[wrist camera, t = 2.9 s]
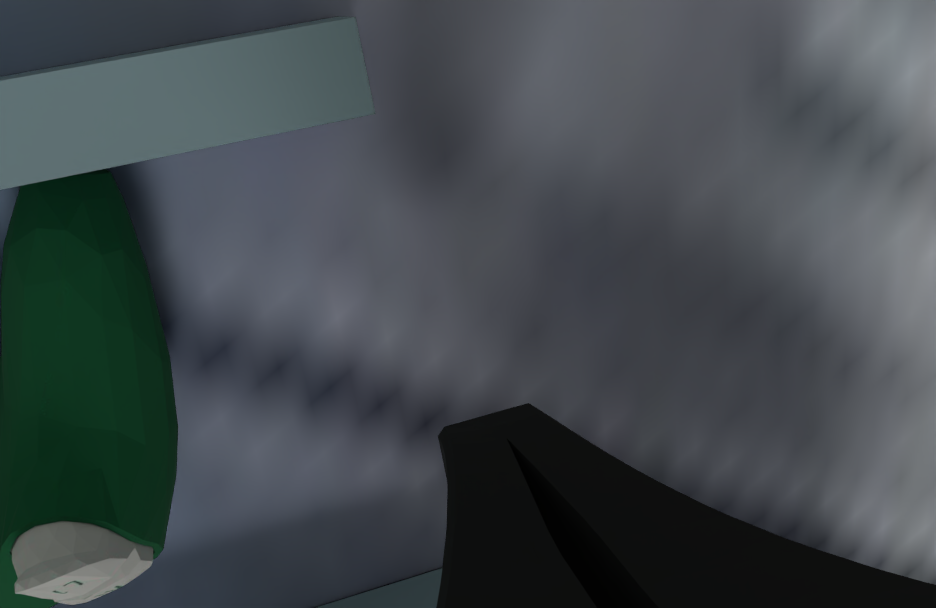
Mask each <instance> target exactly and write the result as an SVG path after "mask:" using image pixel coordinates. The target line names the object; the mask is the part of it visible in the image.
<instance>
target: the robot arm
mask: <svg viewBox="0 0 936 608" xmlns="http://www.w3.org/2000/svg"><path fill="white" fill-rule="evenodd" d="M438 439H439V443H440V448H441V453H442V458H443V463H444V467H445V472H446V477H447V484H448V499H447V530H446V541H445V549H444V558H443V567H442V575H441V583H440V589H439V595H438V601H437V607H436V608H936V585H934V584H930V583H925V582H922V581H918V580H915V579H911V578H908V577H904V576H901V575H897V574H893V573H890V572H886V571H883V570H879V569H876V568H873V567H869V566H866V565H863V564H860V563H857V562H854V561H851V560H848V559H845V558H842V557H839V556H835V555H832V554H829V553H826V552H823V551H820V550H817V549H814V548H811V547H808V546H805V545H803V544H800V543H797V542H794V541H791V540H789V539H786V538H783V537H781V536H778V535H775V534H773V533H770V532H768V531H766V530H763V529H761V528H758V527H756V526H753V525H751V524H748V523H746V522H743V521H741V520H739V519H736V518H734V517H731V516H729V515H726V514H724V513H722V512H720V511H717V510H715V509H713V508H711V507H708V506H706V505H704V504H702V503H700V502H698V501H696V500H694V499H692V498H690V497H688V496H686V495H684V494H682V493H680V492H678V491H676V490H674V489H672V488H670V487H668V486H666V485H664V484H662V483H660V482H658V481H656V480H654V479H652V478H650V477H648V476H647V475H645V474H643V473H641V472H639V471H637V470H636V469H634V468H632V467H631V466H629V465H627V464H625V463H624V462H622V461H620V460H618V459H617V458H615V457H613V456H612V455H610V454H608V453H607V452H605V451H603V450H602V449H600V448H598V447H597V446H595V445H593V444H592V443H590V442H589V441H587V440H586V439H584V438H582V437H581V436H579V435H578V434H576V433H574V432H573V431H571V430H570V429H568V428H567V427H565V426H564V425H562V424H560V423H559V422H557V421H556V420H554V419H553V418H551V417H550V416H548V415H547V414H545V413H543V412H542V411H540V410H539V409H537V408H535V407H534V406H532V405H531V404H529V403H528V404H524V405H521V406H517V407H513V408H510V409H506V410H503V411H499V412H496V413H492V414H488V415H485V416H481V417H478V418H474V419H471V420H467V421H464V422H460V423H456V424H453V425H449V426H446V427H444V428H443V430H442V431H441V433H440V434H439V435H438Z"/></svg>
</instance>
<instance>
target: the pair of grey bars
mask: <svg viewBox="0 0 936 608" xmlns="http://www.w3.org/2000/svg"><path fill="white" fill-rule="evenodd" d="M373 114H375V110H374V105H373V100H372V95H371V90H370V86H369V81H368V76H367V71H366V66H365V61H364V57H363V52H362V47H361V42H360V37H359V32H358V28H357V23H356V18H355V17H332V18H327V19H321V20H315V21H310V22H304V23H299V24H293V25H287V26H282V27H276V28H271V29H265V30H259V31H254V32H248V33H243V34H237V35H231V36H226V37H220V38H215V39H209V40H203V41H198V42H192V43H186V44H181V45H175V46H170V47H164V48H158V49H153V50H147V51H142V52H136V53H130V54H125V55H119V56H114V57H108V58H102V59H97V60H91V61H86V62H80V63H74V64H69V65H63V66H57V67H52V68H46V69H41V70H35V71H29V72H24V73H18V74H13V75H7V76H1V77H0V190H2V189H7V188H12V187H17V186H22V185H27V184H32V183H37V182H42V181H47V180H52V179H57V178H62V177H66V176H71V175H76V174H81V173H86V172H91V171H96V170H101V169H106V168H111V167H116V166H121V165H126V164H131V163H136V162H141V161H146V160H150V159H155V158H160V157H165V156H170V155H175V154H180V153H185V152H190V151H195V150H200V149H205V148H210V147H215V146H220V145H225V144H229V143H234V142H239V141H244V140H249V139H254V138H259V137H264V136H269V135H274V134H279V133H284V132H289V131H294V130H299V129H304V128H308V127H313V126H318V125H323V124H328V123H333V122H338V121H343V120H348V119H353V118H358V117H363V116H368V115H373ZM441 575H442V568H441V569H438V570H435V571H431V572H428V573H425V574H422V575H419V576H415V577H412V578H409V579H406V580H403V581H399V582H396V583H393V584H390V585H387V586H383V587H380V588H377V589H374V590H371V591H367V592H364V593H361V594H358V595H355V596H351V597H348V598H345V599H342V600H339V601H335V602H332V603H329V604H326V605H323V606H320V607H316V608H436V607H437V601H438V595H439V589H440V583H441Z"/></svg>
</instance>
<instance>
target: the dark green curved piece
mask: <svg viewBox="0 0 936 608" xmlns="http://www.w3.org/2000/svg"><path fill="white" fill-rule="evenodd" d="M177 441H178V423H177V414H176V406H175V397H174V388H173V380H172V371H171V362H170V356H169V352H168V348H167V344H166V340H165V336H164V332H163V328H162V324H161V320H160V316H159V312H158V309H157V305H156V301H155V297H154V293H153V289H152V285H151V281H150V277H149V273H148V269H147V265H146V262H145V259H144V256H143V254H142V251H141V248H140V245H139V242H138V239H137V236H136V233H135V231H134V228H133V225H132V222H131V219H130V216H129V213H128V210H127V207H126V205H125V202H124V199H123V197H122V195H121V193H120V191H119V189H118V186H117V184H116V182H115V180H114V178H113V176H112V174H111V172H110V171H108V170H106V169H102V170H96V171H91V172H86V173H81V174H76V175H71V176H66V177H62V178H57V179H52V180H47V181H42V182H37V183H32V184H27V185H22V186H20V190H19V193H18V197H17V200H16V203H15V207H14V210H13V214H12V217H11V220H10V224H9V227H8V231H7V235H6V238H5V242H4V249H3V262H2V274H1V357H0V608H50V607H52V606H54V605H55V604H57V603H63V604H69V605H76V604H81V603H86V602H89V601H91V600H93V599H96V598H98V597H100V596H103V595H105V594H107V593H110V592H112V591H114V590H116V589H119V588H121V587H123V586H124V585H126V584H127V583H129V582H130V581H132V580H133V579H135V578H136V577H138V576H139V575H140V574H142V573H143V572H144V571H145V570H147V569H148V568H149V567H151V565H152V563H153V560H154V559H155V558H157V557H158V555H159V554H160V553H161V551H162V550H163V548H164V542H165V537H166V531H167V525H168V520H169V514H170V508H171V502H172V497H173V491H174V485H175V479H176V471H177Z"/></svg>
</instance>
